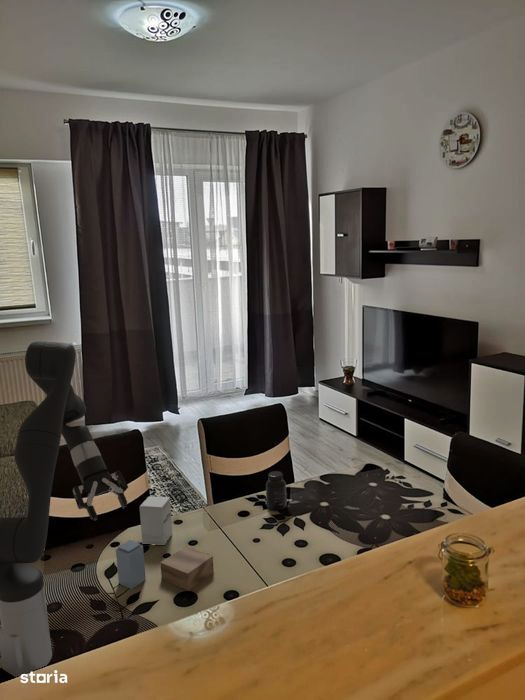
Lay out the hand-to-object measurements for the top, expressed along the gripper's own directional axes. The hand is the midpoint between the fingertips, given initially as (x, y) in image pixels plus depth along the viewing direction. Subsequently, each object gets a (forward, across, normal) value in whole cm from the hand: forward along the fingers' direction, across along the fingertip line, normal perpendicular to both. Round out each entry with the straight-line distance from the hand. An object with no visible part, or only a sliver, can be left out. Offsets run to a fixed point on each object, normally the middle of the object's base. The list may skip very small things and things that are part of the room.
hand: (110, 513), depth 155 cm
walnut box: (+24, +12, -2) cm, 27 cm away
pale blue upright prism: (+19, -1, +3) cm, 19 cm away
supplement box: (+10, +16, +16) cm, 25 cm away
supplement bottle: (+18, +57, +11) cm, 61 cm away
